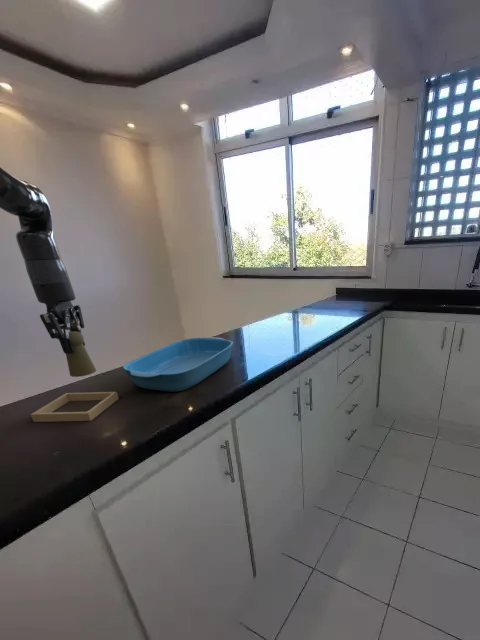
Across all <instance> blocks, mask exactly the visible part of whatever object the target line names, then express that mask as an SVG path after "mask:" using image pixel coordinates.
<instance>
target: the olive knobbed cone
mask: <svg viewBox="0 0 480 640" xmlns="http://www.w3.org/2000/svg"><path fill="white" fill-rule="evenodd" d="M68 332H69V338H70V340H71V342H72V345H73V348H74V353H70V354H65V357H66V362H67V367H68V372H69V376H71V377H73V378H80V377H85V376H89V375H92V374H95V373H96V372H97V369H96V367H95V365H94V362H93V361H92V359H91V357H90V354H89V352H88V350H87V349H86V347H85V346H84V345H83V342H85V338H84V335H83V334H82V332H81V333H80V332H76V331H71V332H70V331H68Z"/></svg>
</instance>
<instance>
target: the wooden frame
mask: <svg viewBox="0 0 480 640" xmlns="http://www.w3.org/2000/svg"><path fill="white" fill-rule="evenodd" d="M118 400H119V394H118V392H117V391H97V392H96V391H95V392H94V391H93V392H92V391H91V392H66V393H64V394H62V395H60V396H58V397H57V398H55V399H54V400H52V401H50V402H49V403H47V404H45V405H43V406H42V407H40V408H39V409H37V410H35V411H33V412H32V413H31V414H29V415H30V417H31V419H32V421H33V423H38V422H39V423H43V422H45V423H46V422H47V423H49V422H87V421H88V422H92V421H93V420H94V419H95V418H97V417H98V416H99V415H100V414H102V413H104V411H105V410H107V409H108V408H110V406H112V405H113V404H114V403H115V402H117V401H118ZM83 401H99V402H98V403H97V404H95V405H94V406H92V407H91V408H90V409H89V410H87V411H59V412H58V411H57V412H55V411H56V410H58V409H59V408H61V407H63V406H64V405H66V404H67V403H69V402H83Z"/></svg>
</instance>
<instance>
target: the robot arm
mask: <svg viewBox="0 0 480 640" xmlns="http://www.w3.org/2000/svg"><path fill="white" fill-rule="evenodd" d="M0 209H1V210H2V211H4V212H6V213H8V214H10V215H13V216H16V217H17V218H18V222H19V226H20V227H19V228H20V230H19V231H17V232H16V234H15V240H16V243H17V246H18V249H19V252H20V255H21V256H22V260H23V261H24V265H25V269H26V270H25V271H26V273H27V276H28V278H29V281H30V284H31V287H32V289H33V291H34V294H35V297H36V299H37V302H38V303H41V304H44V305H45V306H46V313H41V314H39V318H40V320H41V322H42V324H43V325H44V327H45V329H46V331H47V333H48V335H49V337H50V339H56V340H58V341H59V344H60V346H61V349H62V351H63V353H64V354H65V355H66V354H70V353H74V348H73V345H72V342H71V340H70V338H69V332H71V331H76V332H80V333H81V334H82V332H83V329H85V322H84V317H83V312H82V309H81V306H80V304H75V305H74V304H73V303H72V302H73V301H75V300H76V294H75V291H74V289H73V286H72V282H71V280H70V279H71V278H70V277H69V273H68V270H67V268H66V266H65V264H64V262H63V259H62V255H61V253H60V250H59V247H58V243H57V242H56V238H55V228H54V227H55V226H54V220H53V214H52V209H51V205H50V203H49V201H48V198H47V197H46V195H45V194H44V192H43V191H42V190H41V189H40V188H39V187H38V186H37V185H36V184H33V183H31V182H29V181H26V180H22V179H20V178H17V177H15V176H14V175H12V174H10V173H9V172H7V171H6V170H5V169H3V168H2V167H0ZM83 345H84V347H85V346H86V343H85V341H84V342H83Z"/></svg>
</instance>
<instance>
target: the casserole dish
mask: <svg viewBox="0 0 480 640" xmlns="http://www.w3.org/2000/svg"><path fill="white" fill-rule="evenodd" d="M233 345H234V342H233V341H232V340H229V339H225V338H222V337H217V336H204V337H203V336H202V337H190V338H184V339H180V340H177V341H174V342H171V343H169V344H167V345H164V346H163V347H160V348H158V349H155V350H153V351H150V352H148V353H146V354H143V355H140V356H139V357H136V358H134V359H132V360H130V361H128V362H127V363H125V364H124V365H123V366H122V370H123V371H125V373H126V375H127V376H128V377H129V379H130V380H131V382H132V383H133V384H134V385H136V386H137V387H139V388H140V389H141V388H142V389H145V390H151V391H159V392H166V393H167V392H168V393H179V392H183V391H186V390H189V389H190V388H193V387H194V386H196V385H197V384H199V383H201V382H202V381H203V380H206V379H207V378H208V377H209V376H210V375H212V374H214V373H216V371H218V370H219V369H221V368H223V367H224V366H225V365H226V364H227V363H228V362H229V360H230V358H231V356H232V351H233Z"/></svg>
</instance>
